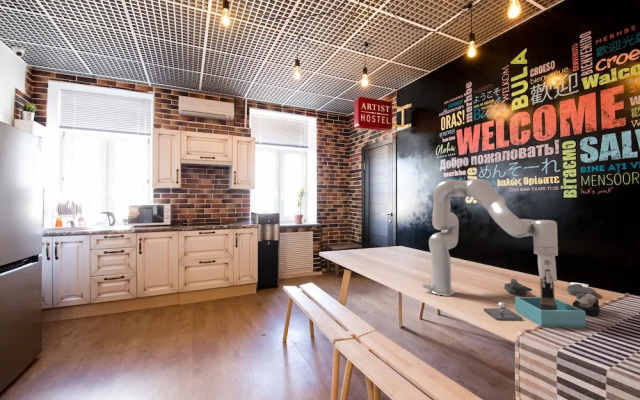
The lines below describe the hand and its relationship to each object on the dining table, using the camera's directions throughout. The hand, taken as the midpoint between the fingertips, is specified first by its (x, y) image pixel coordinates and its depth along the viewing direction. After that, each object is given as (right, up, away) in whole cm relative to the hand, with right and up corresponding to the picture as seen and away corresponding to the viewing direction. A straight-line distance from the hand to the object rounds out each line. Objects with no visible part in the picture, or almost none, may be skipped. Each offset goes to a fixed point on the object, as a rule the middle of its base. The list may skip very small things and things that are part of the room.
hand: (547, 295), depth 111 cm
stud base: (-16, -10, +4) cm, 19 cm away
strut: (0, -6, 0) cm, 6 cm away
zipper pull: (+10, -10, +30) cm, 33 cm away
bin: (0, -9, 0) cm, 9 cm away
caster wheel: (+23, -9, +6) cm, 25 cm away
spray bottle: (+46, -10, +34) cm, 58 cm away
